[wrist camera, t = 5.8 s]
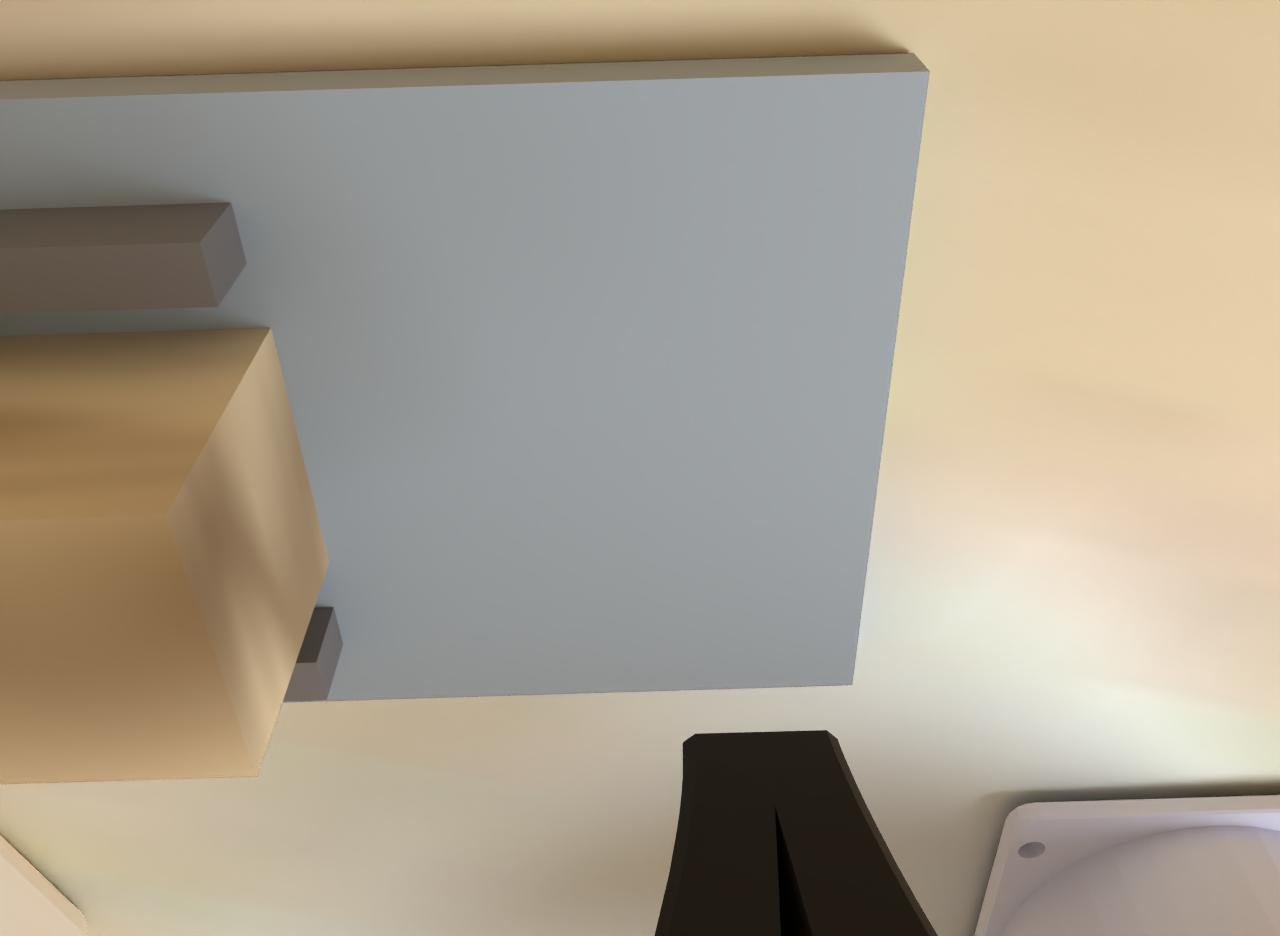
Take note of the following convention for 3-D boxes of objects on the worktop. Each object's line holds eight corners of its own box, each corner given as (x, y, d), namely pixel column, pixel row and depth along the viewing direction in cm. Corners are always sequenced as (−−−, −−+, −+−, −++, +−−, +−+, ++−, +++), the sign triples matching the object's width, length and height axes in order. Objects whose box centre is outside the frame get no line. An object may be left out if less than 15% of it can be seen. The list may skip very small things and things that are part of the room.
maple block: (329, 562, 16) (256, 777, 13) (32, 572, 16) (-114, 787, 13) (270, 328, 14) (166, 515, 11) (-75, 338, 14) (-284, 529, 11)
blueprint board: (843, 651, 19) (865, 740, 17) (-19, 677, 19) (-81, 770, 17) (914, 53, 13) (956, 102, 11) (-332, 90, 13) (-470, 145, 11)
